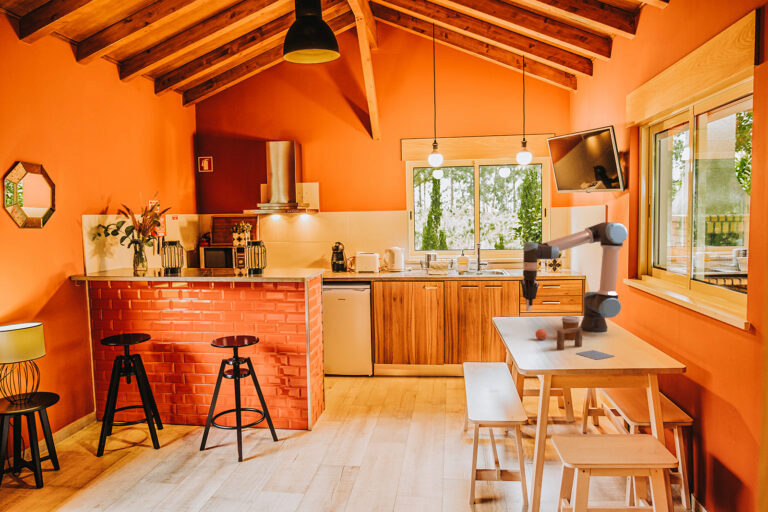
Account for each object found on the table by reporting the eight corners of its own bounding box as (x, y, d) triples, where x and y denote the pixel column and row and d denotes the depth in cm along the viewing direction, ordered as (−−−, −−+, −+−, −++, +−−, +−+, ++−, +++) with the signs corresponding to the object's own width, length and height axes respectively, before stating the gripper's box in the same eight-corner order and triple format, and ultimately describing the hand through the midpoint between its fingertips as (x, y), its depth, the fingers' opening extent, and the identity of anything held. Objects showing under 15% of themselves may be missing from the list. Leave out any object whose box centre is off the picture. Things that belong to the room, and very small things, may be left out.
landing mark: (593, 350, 263) (593, 350, 263) (615, 356, 252) (615, 356, 252) (575, 353, 257) (575, 353, 257) (596, 359, 246) (596, 359, 246)
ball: (541, 338, 290) (541, 327, 290) (549, 340, 285) (549, 329, 285) (533, 339, 288) (533, 328, 287) (541, 341, 282) (541, 330, 282)
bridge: (556, 348, 266) (557, 330, 266) (577, 345, 274) (577, 327, 273) (561, 350, 264) (561, 331, 263) (581, 346, 271) (582, 328, 270)
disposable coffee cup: (580, 341, 283) (581, 319, 282) (562, 340, 285) (562, 318, 284) (577, 337, 292) (578, 316, 291) (560, 336, 294) (560, 315, 293)
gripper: (516, 268, 296) (515, 309, 298) (533, 271, 284) (532, 313, 286) (526, 268, 299) (525, 308, 301) (543, 270, 288) (542, 312, 290)
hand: (528, 310), depth 294 cm, fingers closed
